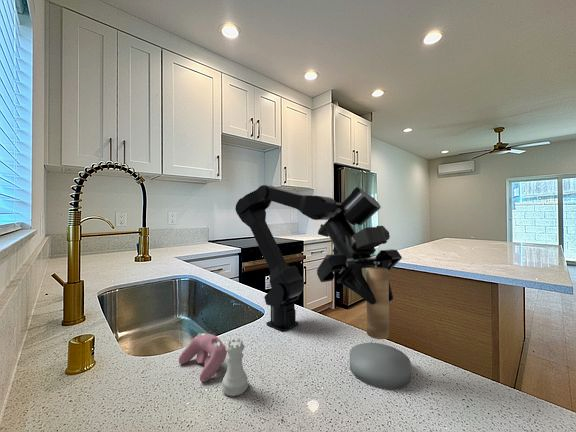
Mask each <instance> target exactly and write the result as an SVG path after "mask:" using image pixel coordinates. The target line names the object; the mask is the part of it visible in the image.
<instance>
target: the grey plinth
mask: <svg viewBox="0 0 576 432" xmlns="http://www.w3.org/2000/svg"><path fill="white" fill-rule="evenodd" d="M411 367H412V363H411V360H410V358H409V357H408V355H407V354H406V353H405V352H403V351H402V350H400V349H397V348H396V347H394V346H390V345H388V344H384V343H378V342H362V343H359V344H356V345H354V346H353V347H351V349H350V351H349V370H350V371H351V373H352V374H353V376H354V377H355V378H356V379H357V380H359V381H361V382H362V383H365V385H369V386H371V387H374V388H377V389H383V390H398V389H402V388H404V387H406V386H407V385H409V384H410V382H411V379H412V368H411Z"/></svg>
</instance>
